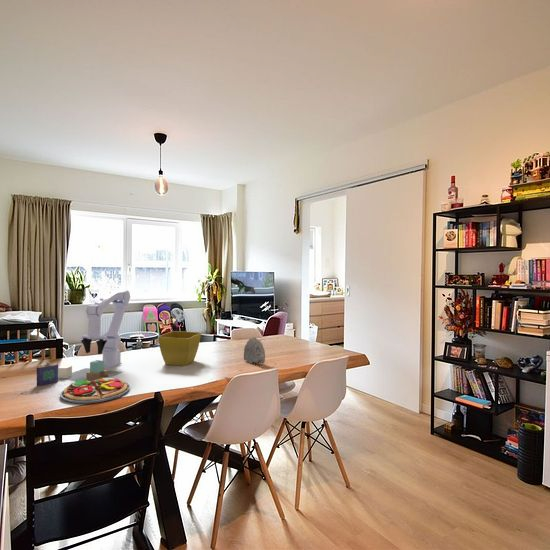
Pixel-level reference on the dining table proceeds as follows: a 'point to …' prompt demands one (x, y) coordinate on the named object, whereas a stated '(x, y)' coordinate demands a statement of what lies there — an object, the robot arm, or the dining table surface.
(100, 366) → the teal block
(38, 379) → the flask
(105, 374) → the walnut base
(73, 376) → the mat
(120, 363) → the robot arm
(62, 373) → the cream block
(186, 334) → the flower pot
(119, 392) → the toy pizza
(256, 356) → the decorative rock
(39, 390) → the dining table surface
